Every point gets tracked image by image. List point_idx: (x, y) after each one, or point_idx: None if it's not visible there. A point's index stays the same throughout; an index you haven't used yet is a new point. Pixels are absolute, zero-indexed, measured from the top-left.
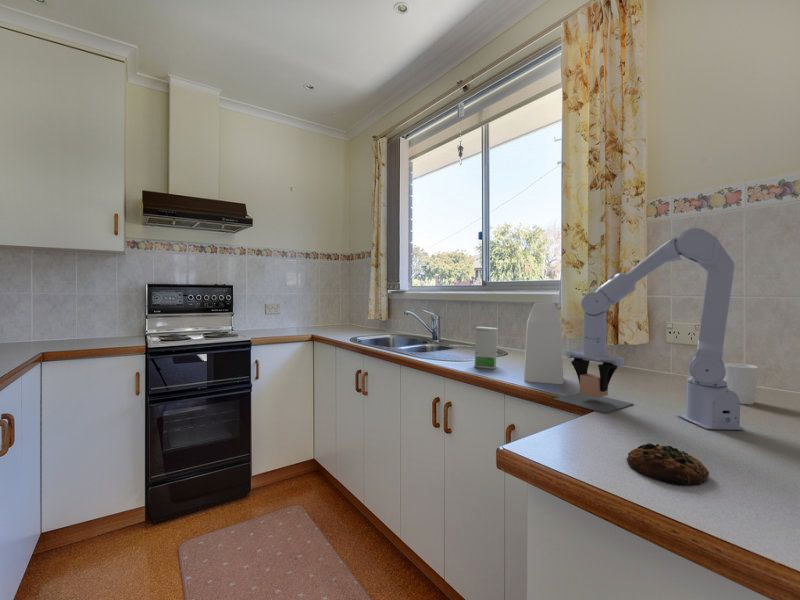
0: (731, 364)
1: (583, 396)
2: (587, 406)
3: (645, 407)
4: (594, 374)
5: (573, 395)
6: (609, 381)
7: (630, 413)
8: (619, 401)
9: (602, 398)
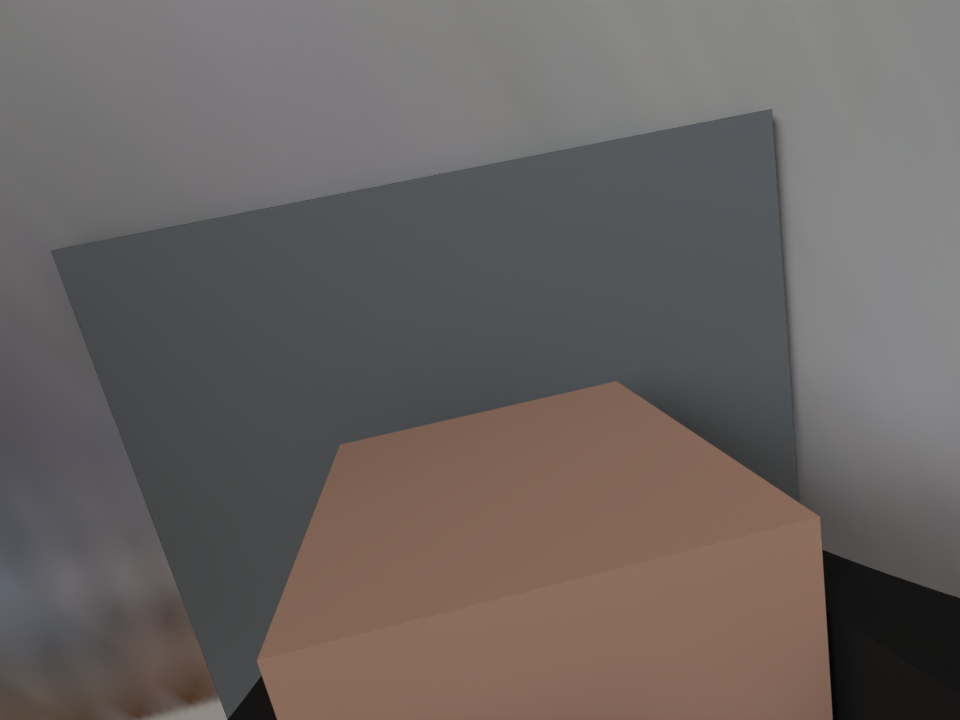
0: None
1: (290, 451)
2: None
3: (885, 75)
4: (479, 691)
5: (209, 538)
6: (851, 567)
7: (905, 454)
8: (635, 195)
9: (451, 287)
